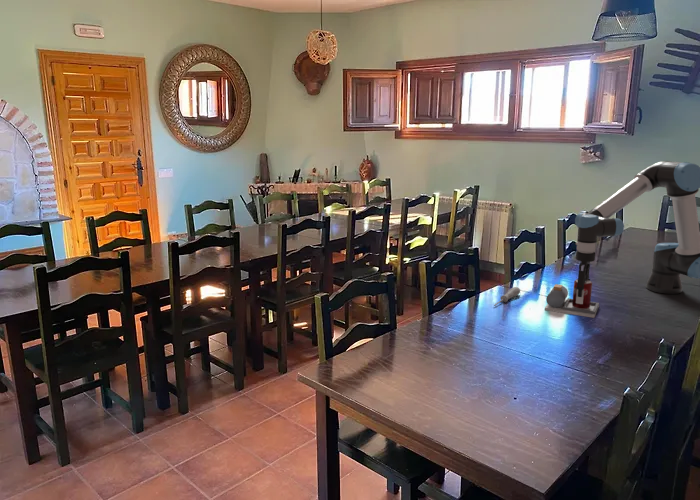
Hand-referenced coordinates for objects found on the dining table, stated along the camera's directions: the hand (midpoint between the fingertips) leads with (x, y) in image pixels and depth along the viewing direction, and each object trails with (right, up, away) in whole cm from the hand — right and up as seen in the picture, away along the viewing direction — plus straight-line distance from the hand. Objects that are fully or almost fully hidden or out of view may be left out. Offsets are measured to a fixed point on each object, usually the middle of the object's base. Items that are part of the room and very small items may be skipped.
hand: (581, 299), depth 227 cm
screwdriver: (-29, -2, +15) cm, 32 cm away
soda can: (0, -4, +1) cm, 4 cm away
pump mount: (-3, -4, +3) cm, 6 cm away
